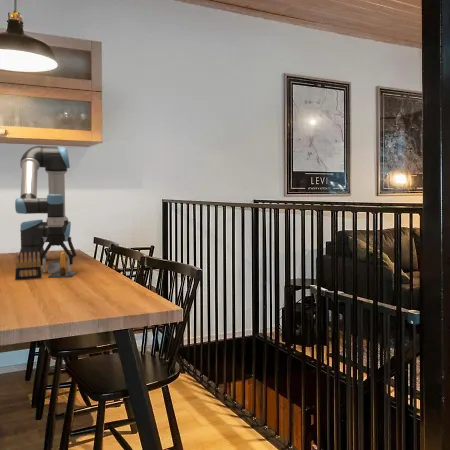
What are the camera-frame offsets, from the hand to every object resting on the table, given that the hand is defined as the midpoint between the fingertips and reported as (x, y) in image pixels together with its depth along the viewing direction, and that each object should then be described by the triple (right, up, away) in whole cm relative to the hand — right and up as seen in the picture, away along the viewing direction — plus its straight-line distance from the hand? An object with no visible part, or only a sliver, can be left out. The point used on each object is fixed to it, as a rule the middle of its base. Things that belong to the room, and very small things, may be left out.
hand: (56, 271), depth 228 cm
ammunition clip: (-7, -1, -17) cm, 19 cm away
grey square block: (0, 0, 0) cm, 0 cm away
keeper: (+6, -1, -9) cm, 11 cm away
